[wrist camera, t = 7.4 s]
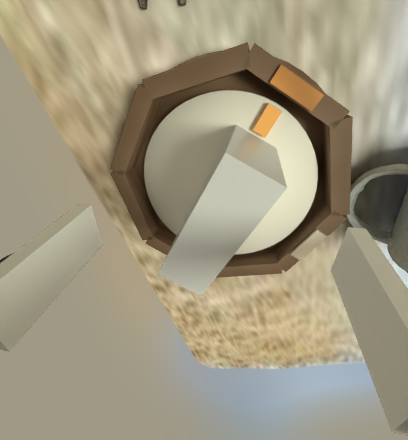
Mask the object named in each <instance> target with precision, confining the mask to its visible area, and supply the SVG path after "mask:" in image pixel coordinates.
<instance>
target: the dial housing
mask: <svg viewBox="0 0 408 440" xmlns="http://www.w3.org/2000/svg"><path fill="white" fill-rule="evenodd" d="M142 81H143V84H138V86H137V89H136V92H135V95H134V98H133V101H132V104H131V107H130V110H129V113H128V116H127V119H126V122H125V125H124V128H123V131H122V134H121V138H120V141H119V144H118V147H117V150H116V153H115V156H114V159H113V162H112V165H111V168H110V169H112V170H113V172H112V173H111V175H112V177H113V179H114V181H115V183H116V185H117V188H118V190H119V192H120V194H121V196H122V198H123V200H124V202H125V204H126V206H127V209H128V211H129V213H130V215H131V217H132V219H133V221H134V223H135V225H136V227H137V230H138V232H139V234H140V236H141V238H142V240H147V241H146V244H148V245H150V246H151V247H153V248H155V249H157V250H159V251H160V252H162V253H164V254H166V255H167V254H168V252H169V250H170V248H171V246H172V244H173V242H174V240H175V238H176V236H177V235H175V234H174V233H173V232H172V231H171V230H170V229H169V228H168V227H167V226H166V225H165V224H164V223H163V222H162V220H161V219H160V218H159V216H158V215H157V213H156V212H155V210H154V208H153V206H152V204H151V202H150V199H149V197H148V194H147V190H146V186H145V179H144V163H145V156H146V152H147V148H148V145H149V143H150V140H151V138H152V136H153V134H154V132H155V131H156V129H157V127H158V126H159V124H160V123H161V122H162V121H163V120H164V118H165V117H166V116H167V115H168V114H169V113H171V112H172V111H173V110H174V109H175V108H177V107H178V106H180V105H181V104H183V103H184V102H186V101H188V100H190V99H192V98H194V97H197V96H199V95H202V94H206V93H209V92H213V91H220V90H241V91H247V92H252V93H255V94H258V95H262V96H264V97H266V98H268V99H270V100H272V101H274V102H276V103H277V104H279V105H280V106H282V107H283V108H284V109H286V110H287V111H288V112H289V113H290V114H291V115H292V116H293V117H294V118H295V119H296V120H297V121H298V122H299V124H300V125H301V126H302V128H303V129H304V130H305V132H306V134H307V135H308V137H309V139H310V141H311V143H312V146H313V149H314V152H315V155H316V160H317V166H318V181H317V189H316V193H315V197H314V200H313V203H312V205H311V207H310V209H309V211H308V213H307V214H306V216H305V218H304V219H303V221H302V222H301V223H300V224H299V225H298V227H297V228H296V229H295V230H294V231H293V232H292V233H290V234H289V235H288V236H287V237H285V238H284V239H283V240H281V241H280V242H278V243H276V244H274V245H272V246H270V247H268V248H265V249H263V250H259V251H256V252H252V253H246V254H236V255H233V257H232V258H231V259H230V260H229V262H228V263H227V264H226V265H225V267H224V268H223V269H222V270H221V272H220V273H219V274H218V275H217V277H232V276H248V275H263V274H279V273H282V270H284V271H285V272H286V271H287V270H289V269H290V268H291V267H292V266H293V265H294V264H296V263H297V262H298V261H299V260H301V259H302V258H304V257H305V256H306V255H307V254H308V253H309V252H311V251H312V250H313V249H314V248H315V247H316V246H318V245H319V244H320V243H321V242H322V241H323V240H325V239H326V238H327V237H328V235H329V234H331V233H332V232H333V231H334V230H335V229H336V228H337V227H339V226H340V225H341V224H342V223H343V222H344V221H346V220H347V218H346V216H345V215H350V189H351V153H352V117H351V116H349V115H347V114H348V113H349V110H347V109H346V108H345V107H343V106H342V105H340V104H339V103H338V102H336V101H335V100H333V99H332V98H331V97H329V96H328V95H326V94H325V93H324V91H323V90H322V89H321V88H320V87H319V85H318V84H317V83H316V82H315V81H313V80H312V79H311V78H310V77H309V76H308V75H306V74H305V73H304V72H303V71H301V70H300V69H298V68H296V67H295V66H293V65H291V64H290V63H288V62H286V61H283V60H281V59H278V58H276V57H273V56H272V55H270V54H269V53H268V52H266V51H265V50H263V49H262V48H261V47H259V46H258V45H256V44H255V43H254V45H253V47H252V49H251V51H249V46H248V42H247V43H244V44H241V45H238V46H236V47H233V48H230V49H227V50H224V51H219V52H212V53H208V54H205V55H201V56H198V57H195V58H193V59H190V60H188V61H186V62H184V63H182V64H180V65H178V66H177V67H175V68H174V69H171V70H168V71H166V72H163V73H160V74H157V75H154V76H152V77H149V78H146V79H143V80H142ZM281 269H282V270H281ZM217 277H216V278H217Z"/></svg>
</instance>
